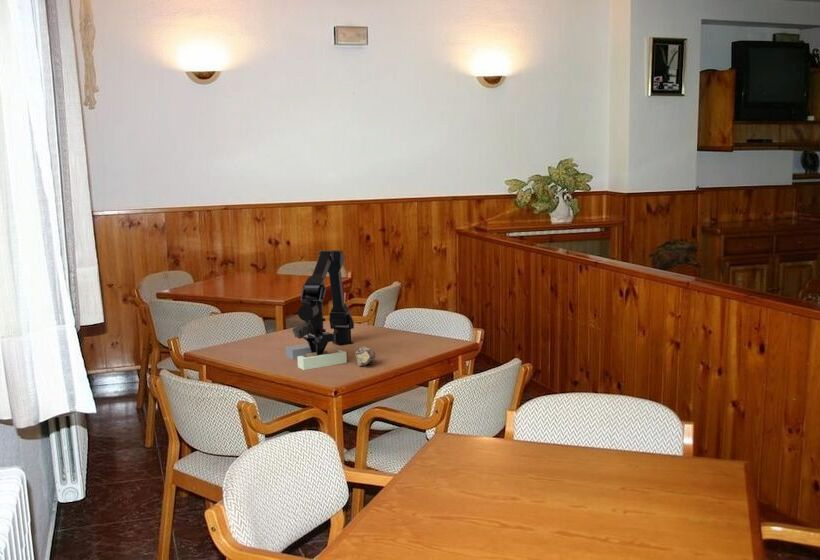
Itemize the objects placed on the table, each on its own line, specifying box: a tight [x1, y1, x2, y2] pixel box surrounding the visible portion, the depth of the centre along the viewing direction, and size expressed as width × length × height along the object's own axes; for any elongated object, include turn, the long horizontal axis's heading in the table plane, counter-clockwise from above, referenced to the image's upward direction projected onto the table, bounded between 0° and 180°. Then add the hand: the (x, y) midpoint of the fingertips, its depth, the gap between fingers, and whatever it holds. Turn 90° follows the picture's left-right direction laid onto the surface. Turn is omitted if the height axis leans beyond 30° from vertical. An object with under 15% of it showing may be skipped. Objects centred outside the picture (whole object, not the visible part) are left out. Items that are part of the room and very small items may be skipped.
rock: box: [354, 345, 376, 367], centre depth 302 cm, size 7×11×10 cm
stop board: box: [296, 349, 348, 371], centre depth 303 cm, size 17×5×4 cm, turn 123°
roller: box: [305, 350, 329, 358], centre depth 306 cm, size 8×4×4 cm, turn 123°
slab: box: [285, 343, 312, 361], centre depth 317 cm, size 10×7×4 cm
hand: (316, 357), depth 306 cm, fingers open, 4 cm apart
